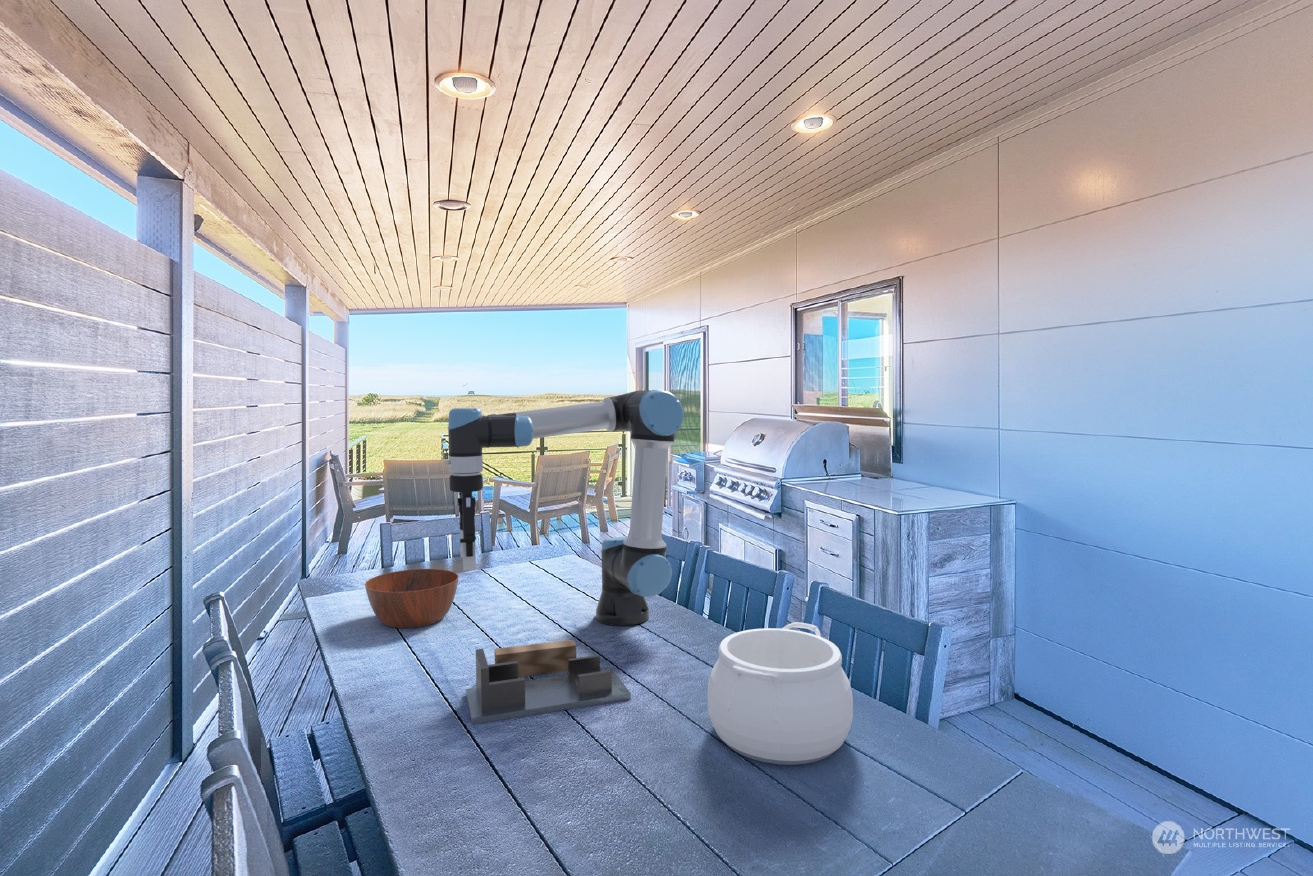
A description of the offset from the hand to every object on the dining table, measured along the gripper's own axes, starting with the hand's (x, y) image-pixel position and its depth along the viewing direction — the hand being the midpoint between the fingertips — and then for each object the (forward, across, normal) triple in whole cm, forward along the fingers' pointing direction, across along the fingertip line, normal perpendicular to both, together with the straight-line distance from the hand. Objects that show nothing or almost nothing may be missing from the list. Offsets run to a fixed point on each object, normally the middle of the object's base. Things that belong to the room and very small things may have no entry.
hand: (467, 563), depth 161 cm
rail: (+24, +12, +14) cm, 30 cm away
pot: (+24, +56, +52) cm, 80 cm away
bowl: (+24, -37, -13) cm, 46 cm away
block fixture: (+24, +26, +14) cm, 38 cm away
